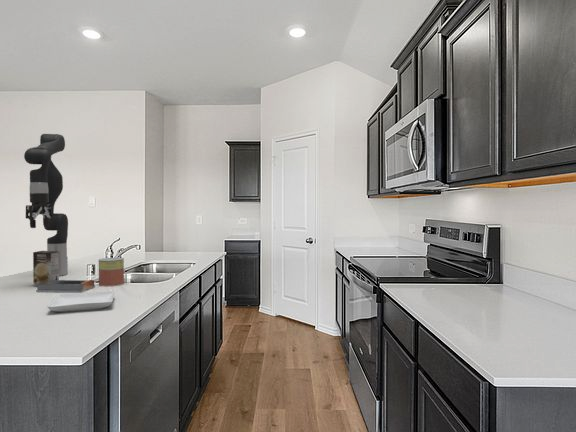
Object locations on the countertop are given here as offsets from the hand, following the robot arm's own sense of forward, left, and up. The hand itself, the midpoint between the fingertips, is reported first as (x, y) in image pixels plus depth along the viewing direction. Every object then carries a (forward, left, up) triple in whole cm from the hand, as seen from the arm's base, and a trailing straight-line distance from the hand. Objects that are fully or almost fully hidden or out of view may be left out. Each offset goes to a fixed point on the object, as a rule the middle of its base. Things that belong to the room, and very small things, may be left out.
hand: (40, 227), depth 194 cm
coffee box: (-2, +1, -28) cm, 28 cm away
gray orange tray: (+7, +16, -28) cm, 33 cm away
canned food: (-7, +30, -28) cm, 42 cm away
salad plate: (+35, +39, -28) cm, 60 cm away
